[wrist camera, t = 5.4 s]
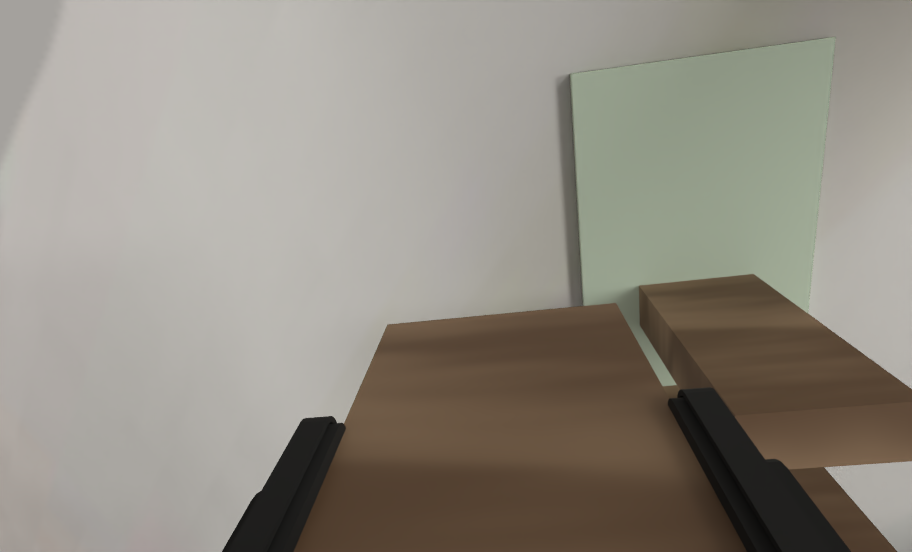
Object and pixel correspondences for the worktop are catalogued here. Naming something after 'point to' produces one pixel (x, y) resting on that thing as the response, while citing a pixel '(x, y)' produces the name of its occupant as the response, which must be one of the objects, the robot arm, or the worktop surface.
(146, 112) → the worktop surface
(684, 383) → the domino
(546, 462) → the domino
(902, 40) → the worktop surface
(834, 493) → the domino
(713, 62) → the mat
